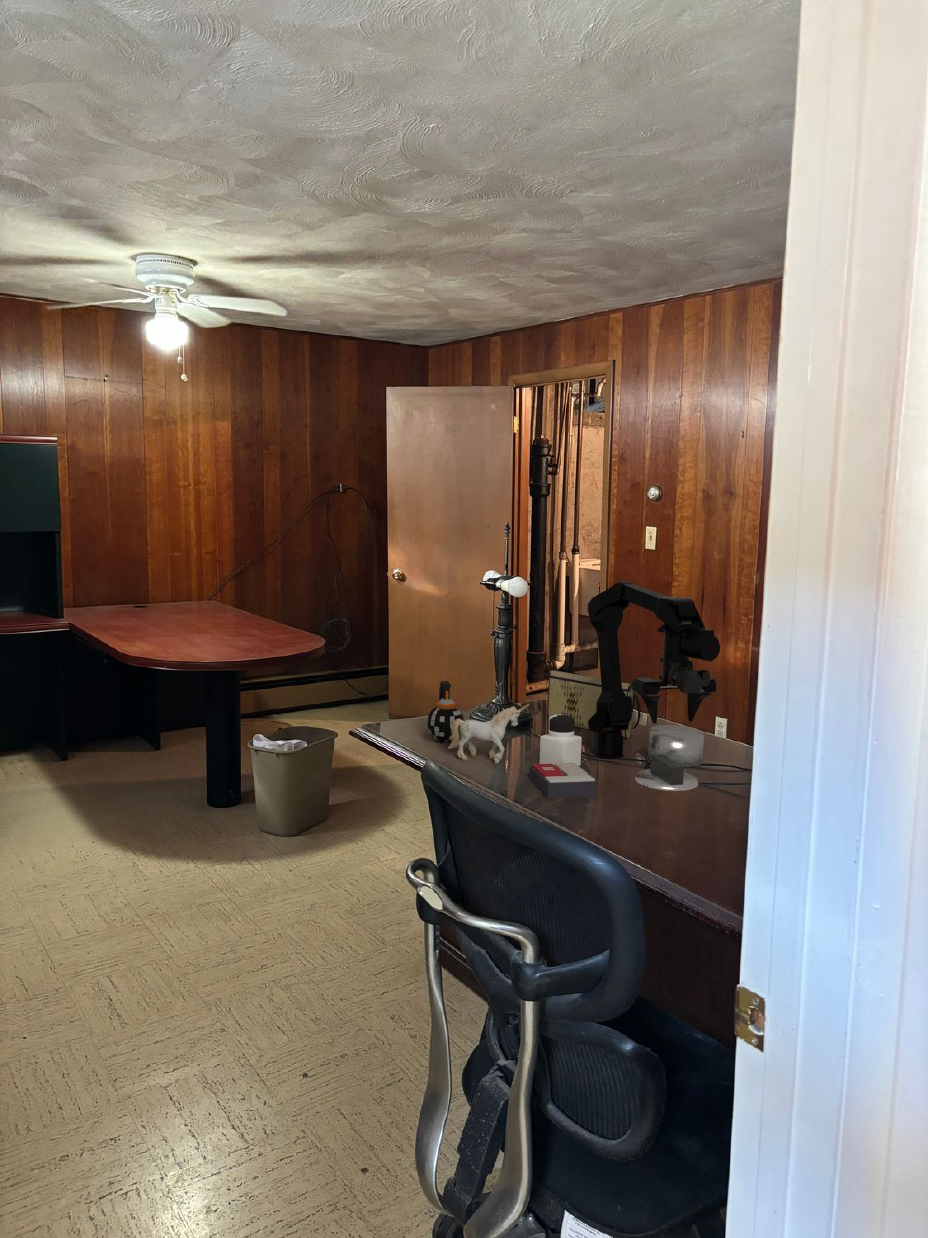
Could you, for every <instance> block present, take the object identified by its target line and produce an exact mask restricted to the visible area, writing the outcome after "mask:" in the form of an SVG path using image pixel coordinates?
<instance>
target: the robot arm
mask: <svg viewBox="0 0 928 1238" xmlns="http://www.w3.org/2000/svg"><path fill="white" fill-rule="evenodd" d="M631 604H634V605H636V606H638V607H641V608H642V609H645V610H648V611H650V612H652V613H654V615H655V617H656V618H657V619H659V620H660V621H661V622H662V623H663V624H662V625H661V626H659V627H658V628H657V632H659V633H663V653H662V656H660V657H659V662H661V663H662V667H661V668H662V670H661V671H662V672H661V673H662V674H658V680H660V681H658V680H655V679H653V678H650V677H636V678H634V680H633V681H632V682H631V684H632V690H633V691H635V693H636V695H639V696H641V699H642V700H643V702H644V704H645V707H646V708H647V713H648V714H649V717H650V720H651V722H652V724H654V725H656V724H658V723H657V721H658V703H659V700H660V699H661V695H659V693H660V692H661V691H663V690H664V691H665V690H679V691H680V692H681V693H682V694H684V695H685V694H686V695H687V696H686V697H687V700H686V701H687V721H689V723H692V722H694V719H695V717H696V715H697V712H698V710H699V708H700V706H701V704H702V702H703V700H704V699H706V698H707V697H710V696H712V693H716V692H717V691H718V683H717V681H716V679H715V678H712V677H711V672H710V671H709V670H708V669H699V670H696V669H694V665H693V663H694V662H693V660H692V659H696V660H701V661H706V662H708V663H709V662H713V661H714V660H716V659H717V658H718V656H719V655H720V652H721V644H720V641H719V639H718V637H717V636H716V635H715V630H714V629H709V628H707V629H706V626H705V624H704V621H703V620H702V617H701V615H700V613H699V611H698V609H697V606H696V603H695V601H694V600H693V599H691V598H688V597H682V596H681V597H680V596H671V595H670V596H669V595H664V594H662V593H659V592H657V591H654V590H650V589H649V588H645V587H643V586H640V585H638V584H636V583H635V582H633V581H618V582H615V583H614V584H613V585H611V586H610V588H607V589H606V590H604V591H601V592H600V593H598V594H597V595H595V596H592V597H591V599H590V600H589V601H588V602H587V613H588V618H589V623H590V624H591V626H592V627H593V629H594V630H595V632H596V634H597V645H598V646H597V647H598V659H599V671H600V672H599V673H600V679H601V685H602V692H601V694H600V696H599V698H598V700H597V707H596V713H595V714H594V715H593V716H592V717H591V718H590V719H589V720H588V726H589V730H590V731H592V732H593V739H592V740H593V742H592V743H593V746H592V748H590V749H589V750H590V752H591V753H593V754H594V755H595V756H597V757H598V758H600V759H601V758H602V759H603V758H615V757H616V758H619V757H620V758H621V757H624V756H625V754H624V753H623V752H624V738H625V737H623V736H622V731H621V730H627V728H628V725H629V722H630V720H631V719H632V718H633V713H634V709H632V698H631V696H626V694H625V693H624V691H623V689H622V683H623V681H622V670H621V658H620V657H621V656H620V648H619V647H620V643H619V632H618V631H619V629H620V628H621V627H620V626H621V624H622V622H623V619H624V611H625V610H626V609H628V607H630V605H631ZM690 658H692V659H690ZM632 720H633V719H632Z"/></svg>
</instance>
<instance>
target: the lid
mask: <svg viewBox="0 0 928 1238" xmlns="http://www.w3.org/2000/svg"><path fill="white" fill-rule="evenodd" d="M684 771H685V767H683V766H681V765H680V764H678V763H676V762H675V761H673V760H672V759H670V758H668V757H667V756H665V755H663V754H661V755H651V761H650V768H647V769H646V768H645V769H642V770H638V771H637V772H636V773H635V774H634V780H635V781H636V782H637V783H638V784H639V785H642V786H644V785H645V787H647V786H648V788H650V789H655V790H662V791H669V790H671V791H673V792H674V791H675V792H676V791H677V792H678V791H679V792H680V791H689V790H692V789H695V788H697V787H698V785H699V779H698V778H697V777H696V776H694V775H692V774H691V773H688V772H684Z"/></svg>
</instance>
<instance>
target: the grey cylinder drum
mask: <svg viewBox="0 0 928 1238" xmlns="http://www.w3.org/2000/svg"><path fill="white" fill-rule="evenodd" d="M648 734H649V735H648V748H647V749H648V750H647V751H648V753H647V758H648V757H650V758H651V755H661V754H663V755H665V756H667V757H668V758H670V759H672V760H673V761H675V762H676V763H678V764H680V765H681V766H683V767H684V768H692V767H691V766H695V767H699V766H700V765H702V764H703V757H704V744H705V743H704V741H705V733H704V732H703V731H702V730H700V729H698V728H694V727H691V726H685V725H675V724H663V725H662V724H661V725H655V726H652V727H650V728H649V733H648Z"/></svg>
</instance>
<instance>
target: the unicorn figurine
mask: <svg viewBox="0 0 928 1238" xmlns="http://www.w3.org/2000/svg"><path fill="white" fill-rule="evenodd" d="M528 706H530V703H527V704H526V705H524V706H522V707H521V708H519V709H517V707H515V706H511V707H509V708H505V709H502V710H501V711H499V712H497V713H496V714H495V715H493V717H492V718H491V719H490V720H489V721H479V720H476V719H466V720H464V721H462V720H461V719H456V720H455V721H454V722H453V723H452V727H451V733H452V735H451V736H450V738H451V739H452V741H451V743H450V745H449V746H448V747H447V749H448V750H450V749H457V748H458V750H457V754H456V756H457V757H458V758H459V759H462V761H464V762H466V761H469V759H468V757H467V755H465V752H464V745H466V744H467V745H468V750H469V752H470V756H471V757H473V758H475V757H476V756H477V755H476V754H477V748H476V747H475V745H474V744H473V743H472V742H471V740H472V739H473V737H474V738H476V739H478V740H481V741H484V742H485V741H486V742H490V741H491V742H493V743H492V745H491V746H492V748H491V750H489V752H488V755H489V760H491V759H493V763H494V765H497V764H499V763H500V761H501V760H502V758H503V755H504V752H505V747H504V745H503V742H502V740H503V739H504V737H505V733H506V727H507V726H508V723H509V721H510V722H511V724H510V725H511V726H512V727H516V726H518V725H519V722H518V720H519V719H518V718H519V716H520V715H521V713H522V712H523V711H524V710H525V709H526V708H528ZM459 726H460V727H459ZM460 732H461V735H460ZM497 747H498V748H499V752H497V753H496V750H497Z"/></svg>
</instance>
